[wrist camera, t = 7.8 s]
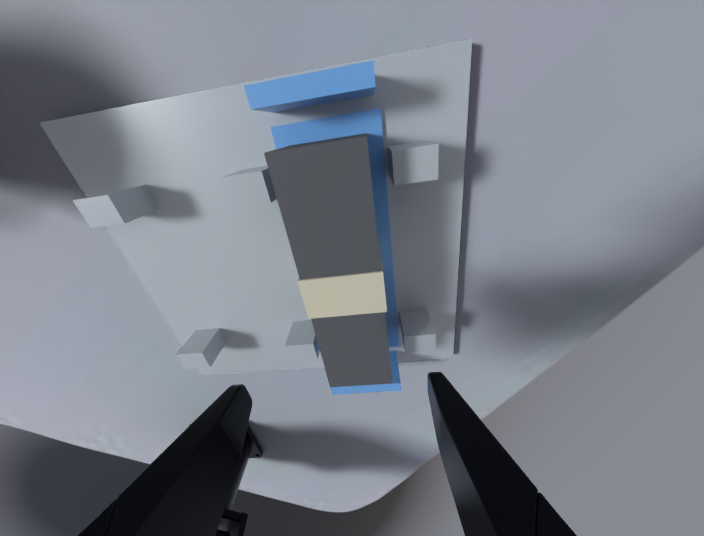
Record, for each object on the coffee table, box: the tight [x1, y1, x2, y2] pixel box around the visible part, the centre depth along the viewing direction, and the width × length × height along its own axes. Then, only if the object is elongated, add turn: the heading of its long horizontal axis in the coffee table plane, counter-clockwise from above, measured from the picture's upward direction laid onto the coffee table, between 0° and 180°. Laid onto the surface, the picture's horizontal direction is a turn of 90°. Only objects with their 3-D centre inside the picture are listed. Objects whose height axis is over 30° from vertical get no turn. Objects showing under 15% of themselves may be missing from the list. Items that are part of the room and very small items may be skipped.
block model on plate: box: [39, 39, 472, 394], centre depth 16 cm, size 20×22×4 cm
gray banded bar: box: [264, 133, 393, 387], centre depth 15 cm, size 14×4×4 cm, turn 8°
